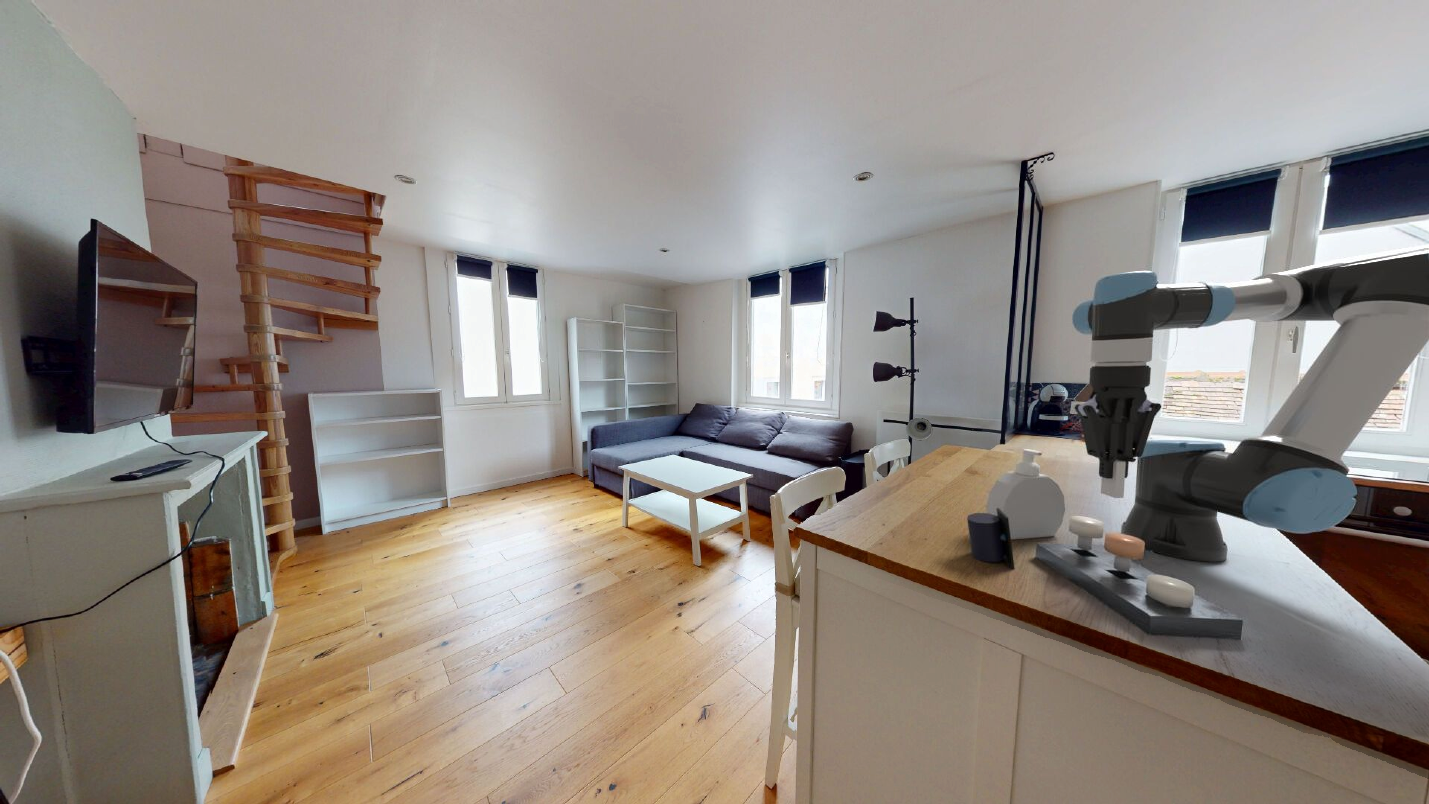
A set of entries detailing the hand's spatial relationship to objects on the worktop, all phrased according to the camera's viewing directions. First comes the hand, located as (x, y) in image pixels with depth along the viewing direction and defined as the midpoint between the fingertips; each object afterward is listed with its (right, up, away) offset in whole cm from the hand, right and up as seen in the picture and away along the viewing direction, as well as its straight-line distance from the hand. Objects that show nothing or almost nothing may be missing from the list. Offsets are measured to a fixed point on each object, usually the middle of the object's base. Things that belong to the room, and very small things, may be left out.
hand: (1111, 495), depth 72 cm
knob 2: (-2, -16, -10) cm, 19 cm away
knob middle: (-1, -12, -3) cm, 13 cm away
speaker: (-16, -16, +10) cm, 24 cm away
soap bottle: (0, -14, +21) cm, 25 cm away
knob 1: (0, -11, +5) cm, 13 cm away
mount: (-1, -16, -2) cm, 16 cm away
